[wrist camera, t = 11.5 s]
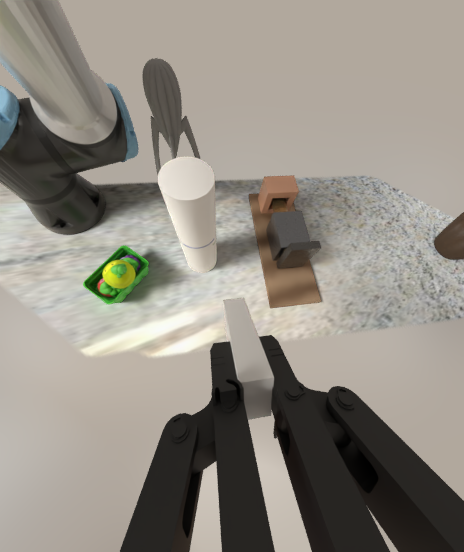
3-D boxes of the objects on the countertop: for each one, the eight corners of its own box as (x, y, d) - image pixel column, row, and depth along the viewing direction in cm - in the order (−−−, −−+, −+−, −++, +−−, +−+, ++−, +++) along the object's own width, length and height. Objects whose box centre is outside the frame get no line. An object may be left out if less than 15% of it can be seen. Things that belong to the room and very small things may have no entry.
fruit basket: (132, 253, 48) (108, 227, 37) (160, 274, 47) (145, 252, 36) (95, 291, 44) (57, 273, 34) (125, 314, 43) (96, 303, 32)
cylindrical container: (181, 260, 48) (145, 178, 25) (201, 241, 50) (185, 148, 27) (203, 278, 47) (187, 210, 23) (222, 257, 49) (226, 176, 26)
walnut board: (319, 302, 47) (321, 301, 46) (270, 308, 46) (271, 307, 45) (289, 194, 58) (290, 192, 57) (248, 196, 56) (249, 194, 55)
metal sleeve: (298, 258, 50) (311, 245, 43) (272, 260, 49) (281, 247, 42) (290, 227, 53) (301, 210, 46) (265, 229, 52) (273, 212, 45)
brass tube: (301, 266, 48) (321, 248, 39) (277, 268, 47) (292, 250, 38) (284, 200, 54) (297, 171, 45) (262, 201, 54) (272, 172, 45)
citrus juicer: (165, 205, 53) (108, 45, 25) (196, 188, 56) (176, 27, 28) (189, 235, 51) (155, 95, 23) (220, 216, 53) (225, 70, 25)
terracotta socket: (288, 211, 54) (298, 191, 47) (261, 213, 53) (267, 193, 46) (284, 197, 56) (294, 175, 49) (257, 198, 55) (264, 176, 48)
